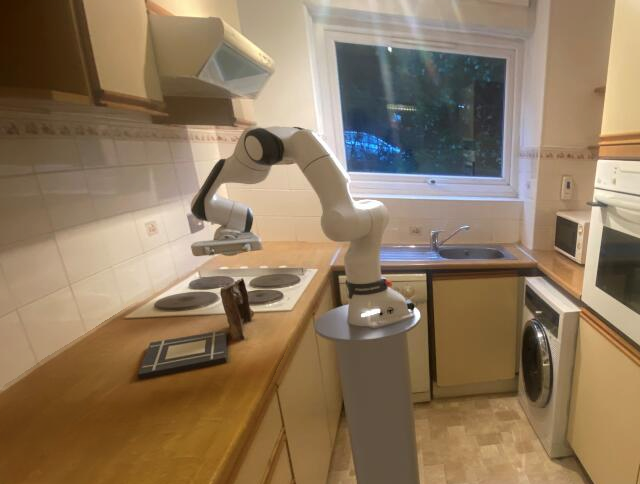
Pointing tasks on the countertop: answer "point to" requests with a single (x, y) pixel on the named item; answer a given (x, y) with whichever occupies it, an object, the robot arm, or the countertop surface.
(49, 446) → the countertop surface
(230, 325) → the mineral sample
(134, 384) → the countertop surface
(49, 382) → the countertop surface
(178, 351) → the board
